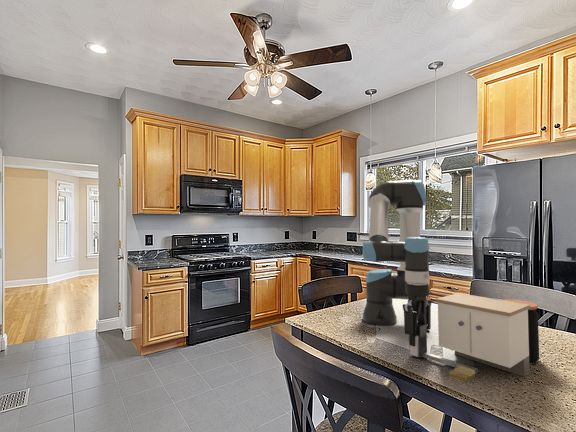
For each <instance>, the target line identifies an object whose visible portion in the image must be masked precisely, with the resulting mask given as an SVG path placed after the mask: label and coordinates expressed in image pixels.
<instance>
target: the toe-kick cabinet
mask: <svg viewBox="0 0 576 432" xmlns="http://www.w3.org/2000/svg"><path fill="white" fill-rule="evenodd" d="M435 303H437V322H438V324H437V325H438V327H437V329H438V332H437V333H438V346H439V347H441V348H445V349H448V350H451V351H454V355H456V356H459V357H463V358H465V359H468V360H472V361H475V362H478V363H481V364H484V365H487V366H491V367H494V368H495V369H500V370H502V371H505V372H506V371H507V372H509V373H512V374H515V375H518V376H522V377H526V376H527V375H528V374H530V364H529V335H528V309H530V305H528V304H522V303H516V302H510V301H504V299H497V298H491V297H484V296H480V295H479V296H478V295H472V294H466V293H460V292H458V293H453V294H450V295H446V296H441V297H437V298H435Z"/></svg>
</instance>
